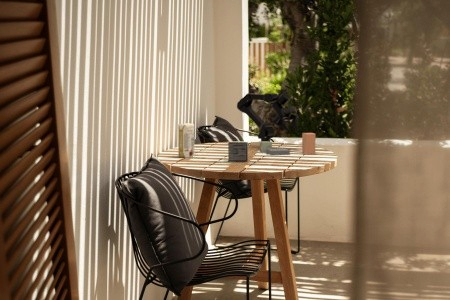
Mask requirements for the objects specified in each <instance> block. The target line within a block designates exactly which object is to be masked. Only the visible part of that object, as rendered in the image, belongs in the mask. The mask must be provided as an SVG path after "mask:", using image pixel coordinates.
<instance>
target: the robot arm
mask: <svg viewBox="0 0 450 300" xmlns="http://www.w3.org/2000/svg"><path fill="white" fill-rule="evenodd" d="M290 99H291V95H290V94H289V93H287V92H286V91H284V90H283V91H282V90H281V91H280V93H279V94H277V93H276V92H270V93H269V92H268V93H264V94H263V93H252V92H251V93H249V92H248V93H246V94H245V96H243V97H242V98H241V99H239V101H238V102H236V103H237V104H236V108H237V109H238V111H240V112H241V113H244V114H246V116H247V117H249V118H250V120H251V121H252V122H253V123H254V124H255V125H256V126H257V127H258V129H259V133H258V134H257V138H258V139H260V142H261V141H269V142H271V139H273V138H274V135H275V127H274V126H275V125H276V126H278V127H279V128H282V129H284V131H287V132H289V131H290V130H289V127H288V125H287V124H286V122H285V121H287V122H288V123H289V125H291V126H292V127H293V129H295V130H297V131H298V130H299V126H298V119H299V117H300V116H299V114H297V113H295V112H296V107H295V105H290V106H288V107H284V106H285V105H286V104H287V102H288V101H290ZM254 101H264V102H265V103H267V104H269V110H272V109H273V110H274V112H275V117H274V118H273V120H272V123H273V124H274V126H273V125H272V124H271V123H270V122H265V121H264V120H263V119H262V118H261V117H260V116H259V115H258V113H256V111H255V110H254V109H253V107H252V105H253V102H254Z"/></svg>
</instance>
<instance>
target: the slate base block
mask: <svg viewBox="0 0 450 300" xmlns="http://www.w3.org/2000/svg"><path fill="white" fill-rule="evenodd" d="M290 151H291V149H287V148H284V147H281V148H280V147H278V148H274V147H272V149H266V152H265V153H266V154H268V155H269V156H288V155H289V156H290V155H291V154H290V153H291V152H290Z"/></svg>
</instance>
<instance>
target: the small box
mask: <svg viewBox="0 0 450 300" xmlns="http://www.w3.org/2000/svg"><path fill="white" fill-rule="evenodd" d="M227 145H228V146H227V148H228V149H227V150H228V154H227V155H228V158H227V159H228V160H227V163H228V162H229V163H230V162H232V163H233V162H234V163H235V162H237V163H239V162H242V163H243V162H244V163H246V162H248V158H249V156H248V155H249V154H248V148H249V147H248V145H249V144H248V141H229V142H228V143H227Z"/></svg>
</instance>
